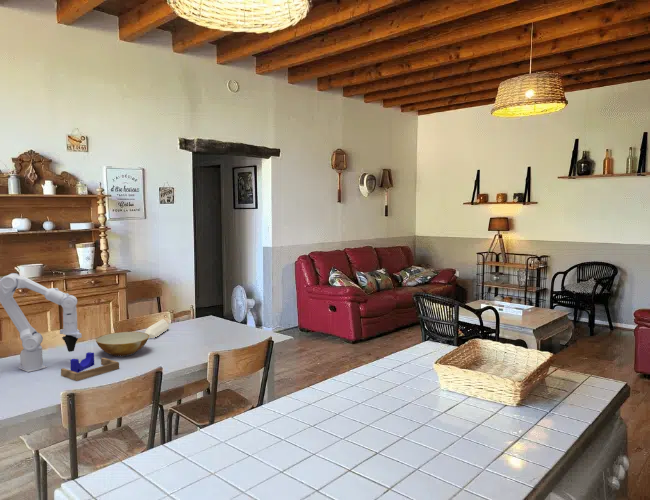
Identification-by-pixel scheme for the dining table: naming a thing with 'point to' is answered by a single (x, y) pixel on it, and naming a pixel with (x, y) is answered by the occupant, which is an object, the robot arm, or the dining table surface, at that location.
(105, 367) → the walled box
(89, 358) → the blue cradle block
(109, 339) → the bowl
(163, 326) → the crystal
